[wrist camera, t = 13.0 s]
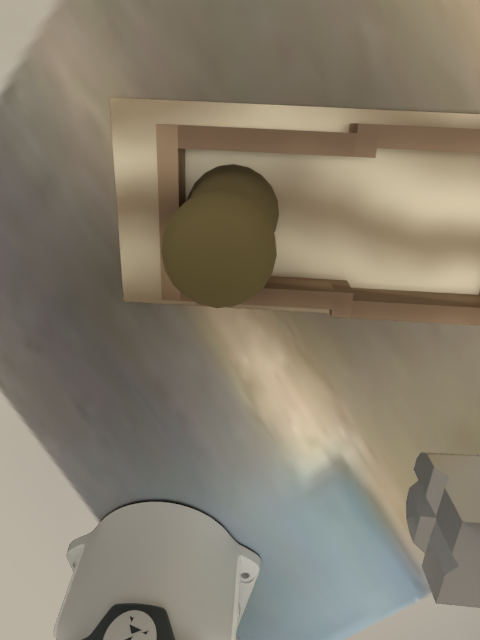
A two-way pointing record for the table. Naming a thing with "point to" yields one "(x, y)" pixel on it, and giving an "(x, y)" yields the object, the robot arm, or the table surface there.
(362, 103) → the table surface
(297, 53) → the table surface
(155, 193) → the wooden tray
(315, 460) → the table surface
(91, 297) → the table surface
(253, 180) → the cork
